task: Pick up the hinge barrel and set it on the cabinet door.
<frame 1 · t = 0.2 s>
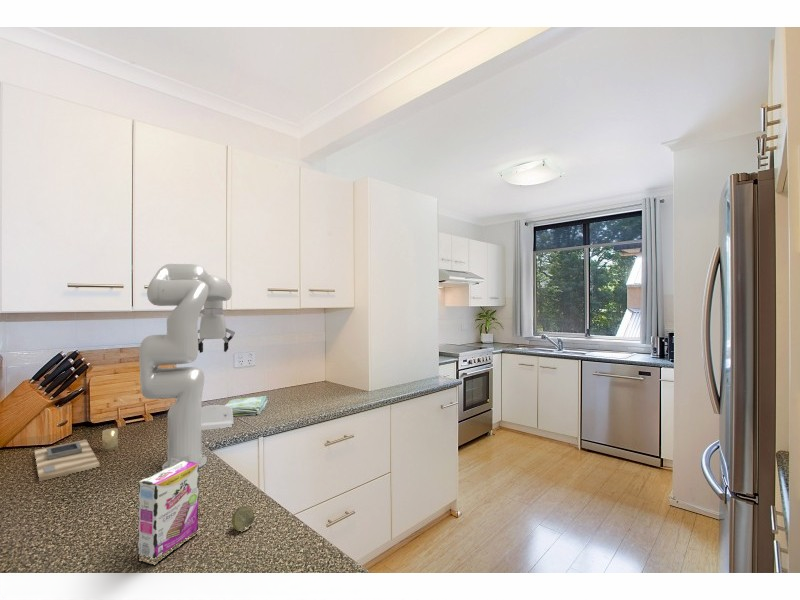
hand: (213, 351, 167), 31 cm above the counter, tool pointing down, fingers open, 9 cm apart
lime: (242, 530, 89), on the counter
towel: (245, 411, 186), on the counter
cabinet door: (65, 460, 128), on the counter
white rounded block: (212, 427, 162), on the counter
candy bar box: (170, 548, 82), on the counter
hinge barrel: (110, 449, 137), on the counter
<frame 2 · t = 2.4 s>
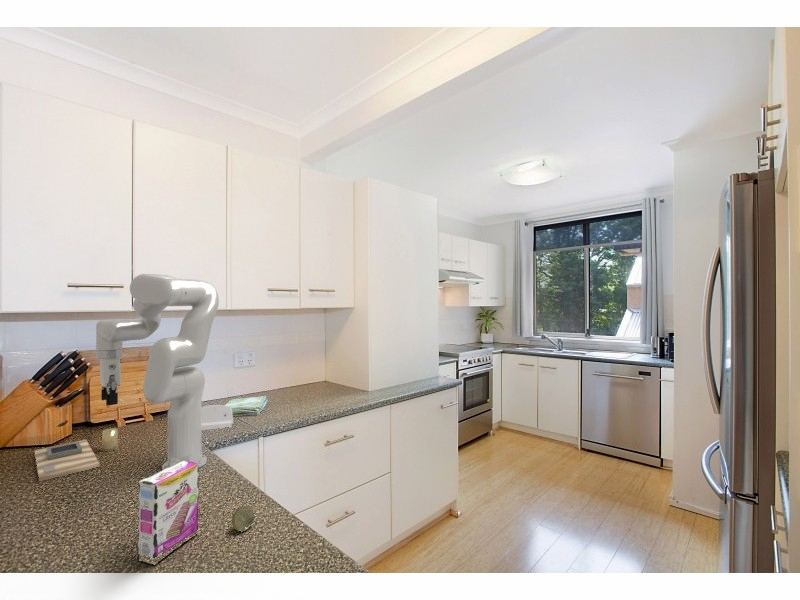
hand: (109, 402, 137), 17 cm above the counter, tool pointing down, fingers open, 9 cm apart
nothing on the counter moved.
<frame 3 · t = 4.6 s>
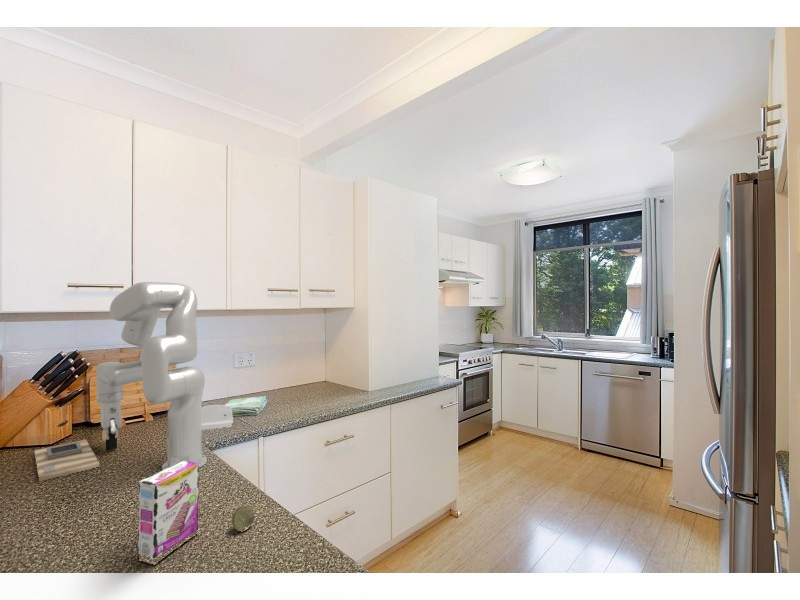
hand: (110, 447, 137), 1 cm above the counter, tool pointing down, fingers closed on hinge barrel, 4 cm apart
hinge barrel: (110, 449, 137), on the counter, touching gripper
everything else where it was.
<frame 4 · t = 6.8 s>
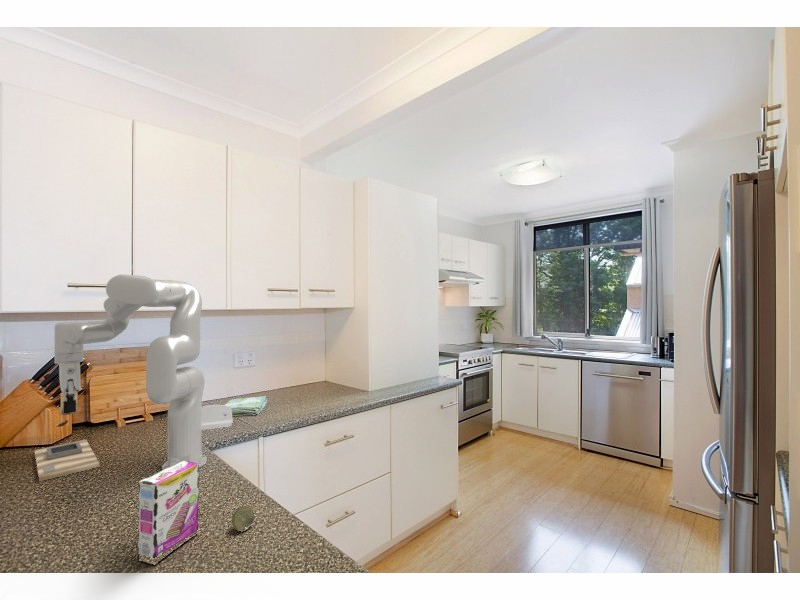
hand: (69, 410, 132), 16 cm above the counter, tool pointing down, fingers closed on hinge barrel, 4 cm apart
hinge barrel: (69, 413, 132), point 15 cm above the counter, touching gripper
everything else where it was.
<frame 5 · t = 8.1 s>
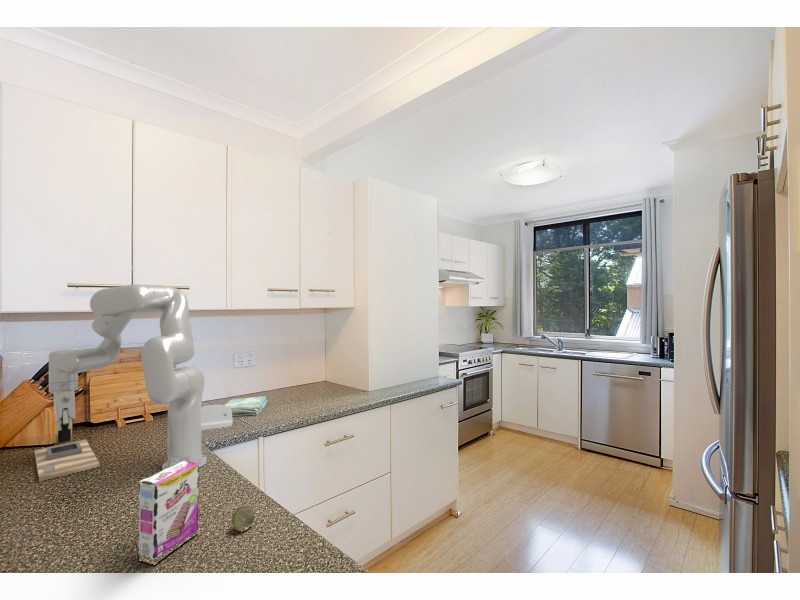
hand: (63, 438, 131), 6 cm above the counter, tool pointing down, fingers closed on hinge barrel, 4 cm apart
hinge barrel: (63, 441, 131), point 5 cm above the counter, touching gripper
everything else where it was.
when the fingers open (3 cm above the counter, at t = 8.9 s): hinge barrel stays where it is, resting on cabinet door.
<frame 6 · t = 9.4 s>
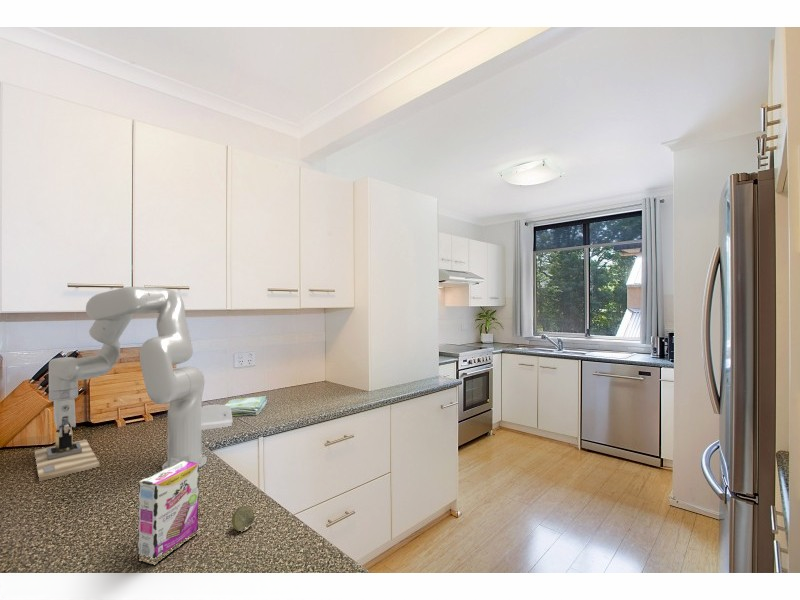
hand: (64, 444, 131), 4 cm above the counter, tool pointing down, fingers open, 9 cm apart
hinge barrel: (64, 452, 131), point 2 cm above the counter, touching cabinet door
everything else where it was.
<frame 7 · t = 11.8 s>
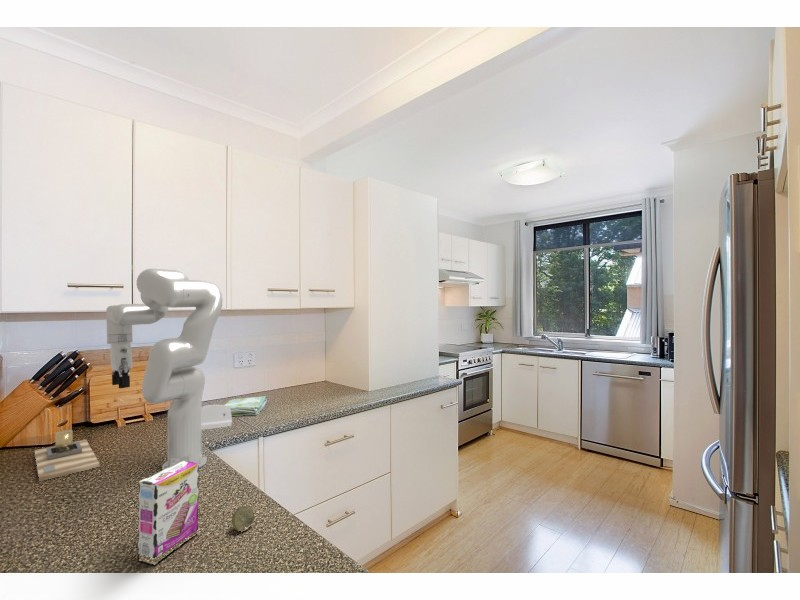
hand: (120, 386, 139), 22 cm above the counter, tool pointing down, fingers open, 9 cm apart
nothing on the counter moved.
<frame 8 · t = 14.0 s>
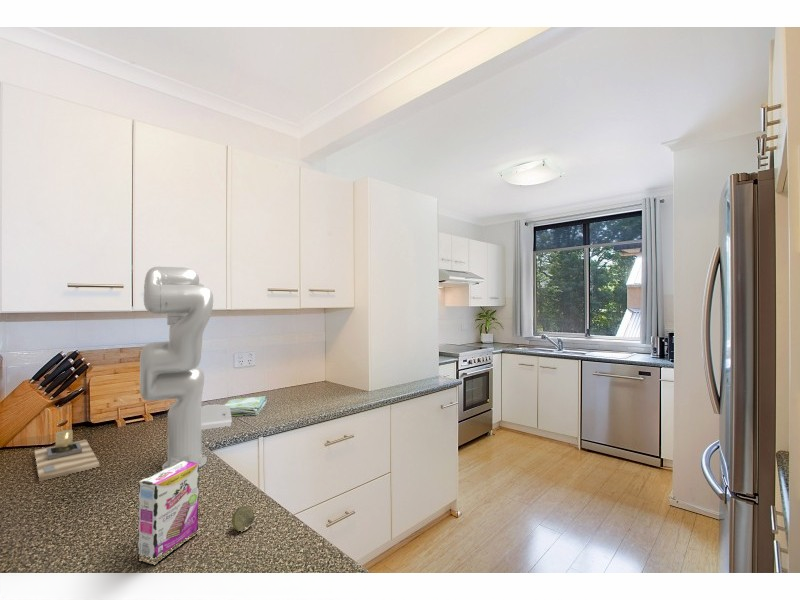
hand: (178, 364, 150), 28 cm above the counter, tool pointing down, fingers open, 9 cm apart
at the end: hinge barrel 0.1 cm from the target spot on the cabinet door, point 1.7 cm above the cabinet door's base; hinge barrel tilted 0°; the gripper is holding nothing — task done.
